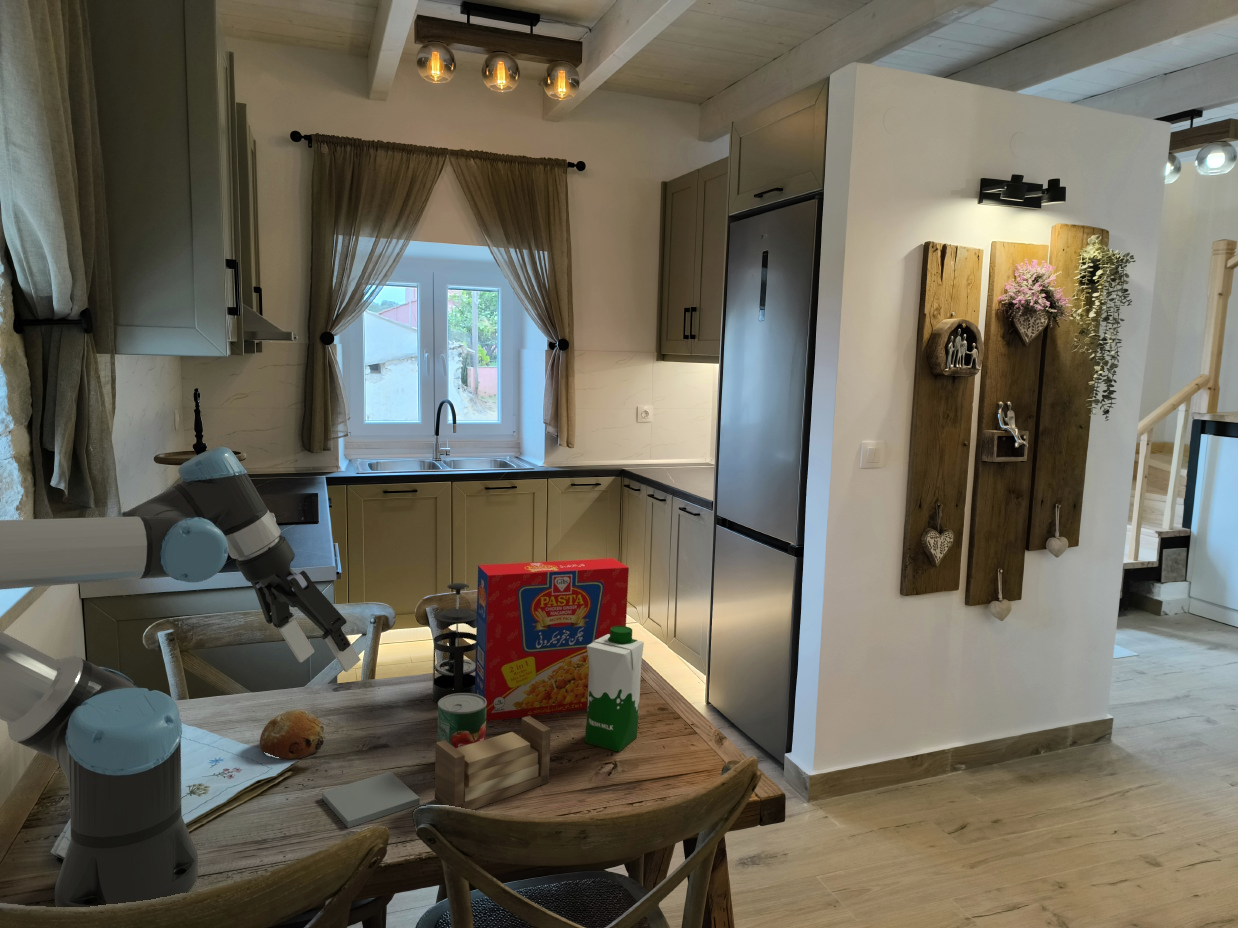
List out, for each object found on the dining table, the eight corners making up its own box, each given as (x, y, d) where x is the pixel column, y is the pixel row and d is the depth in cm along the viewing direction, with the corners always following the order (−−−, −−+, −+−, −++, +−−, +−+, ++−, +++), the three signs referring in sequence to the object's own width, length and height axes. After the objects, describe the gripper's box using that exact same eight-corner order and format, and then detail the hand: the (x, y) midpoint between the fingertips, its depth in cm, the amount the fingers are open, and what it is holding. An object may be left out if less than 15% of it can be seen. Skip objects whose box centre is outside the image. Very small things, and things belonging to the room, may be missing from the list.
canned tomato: (453, 750, 141) (455, 689, 140) (493, 760, 138) (495, 697, 137) (426, 770, 133) (428, 706, 132) (468, 781, 131) (470, 715, 129)
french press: (482, 705, 160) (486, 590, 157) (433, 709, 157) (436, 592, 154) (475, 683, 171) (477, 575, 168) (428, 686, 168) (431, 576, 166)
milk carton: (643, 736, 150) (649, 630, 147) (620, 756, 142) (626, 643, 139) (601, 725, 154) (606, 621, 151) (577, 743, 146) (581, 634, 143)
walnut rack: (454, 816, 120) (455, 757, 119) (434, 798, 125) (435, 742, 124) (548, 782, 131) (550, 728, 130) (527, 767, 136) (529, 715, 135)
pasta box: (484, 721, 153) (488, 575, 150) (474, 705, 160) (478, 565, 157) (622, 704, 164) (628, 567, 161) (607, 689, 171) (613, 558, 168)
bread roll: (306, 751, 146) (293, 707, 147) (342, 741, 141) (328, 696, 142) (256, 773, 137) (243, 726, 138) (292, 764, 132) (279, 715, 133)
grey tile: (348, 827, 116) (348, 821, 116) (321, 798, 124) (321, 791, 124) (419, 803, 123) (419, 797, 123) (390, 777, 131) (390, 771, 131)
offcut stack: (464, 801, 122) (465, 764, 121) (447, 786, 126) (447, 750, 125) (538, 776, 130) (539, 741, 130) (519, 762, 134) (520, 729, 134)
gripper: (323, 532, 114) (392, 652, 121) (242, 532, 131) (308, 638, 138) (278, 563, 109) (353, 687, 116) (200, 559, 126) (270, 668, 133)
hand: (329, 661), depth 127 cm, fingers open, 13 cm apart
